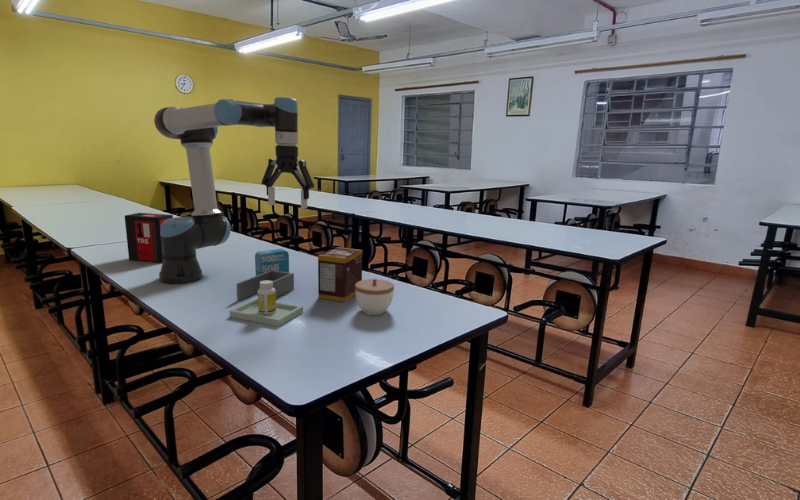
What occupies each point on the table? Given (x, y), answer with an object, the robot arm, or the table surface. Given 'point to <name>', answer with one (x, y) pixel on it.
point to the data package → (271, 261)
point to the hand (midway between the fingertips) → (287, 206)
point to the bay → (249, 287)
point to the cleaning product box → (145, 236)
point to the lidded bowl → (374, 295)
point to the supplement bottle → (266, 298)
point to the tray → (277, 318)
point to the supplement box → (339, 273)
